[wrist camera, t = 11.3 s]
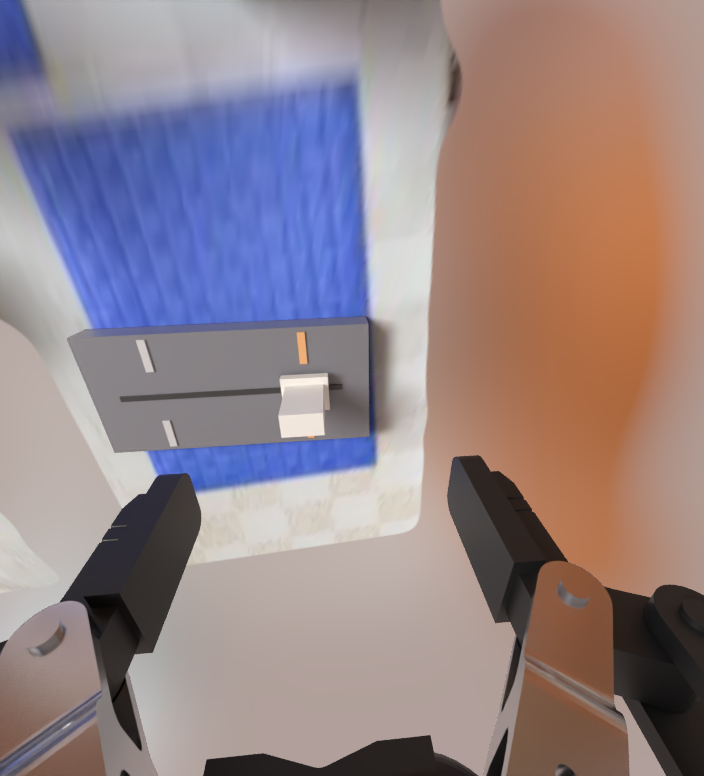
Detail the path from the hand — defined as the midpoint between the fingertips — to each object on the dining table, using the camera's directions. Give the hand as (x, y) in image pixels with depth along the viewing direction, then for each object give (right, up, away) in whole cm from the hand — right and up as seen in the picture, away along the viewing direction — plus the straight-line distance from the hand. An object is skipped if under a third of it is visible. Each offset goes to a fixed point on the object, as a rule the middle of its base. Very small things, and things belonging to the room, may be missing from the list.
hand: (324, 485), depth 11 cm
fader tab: (-4, +3, +27) cm, 28 cm away
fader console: (-12, +4, +30) cm, 33 cm away
